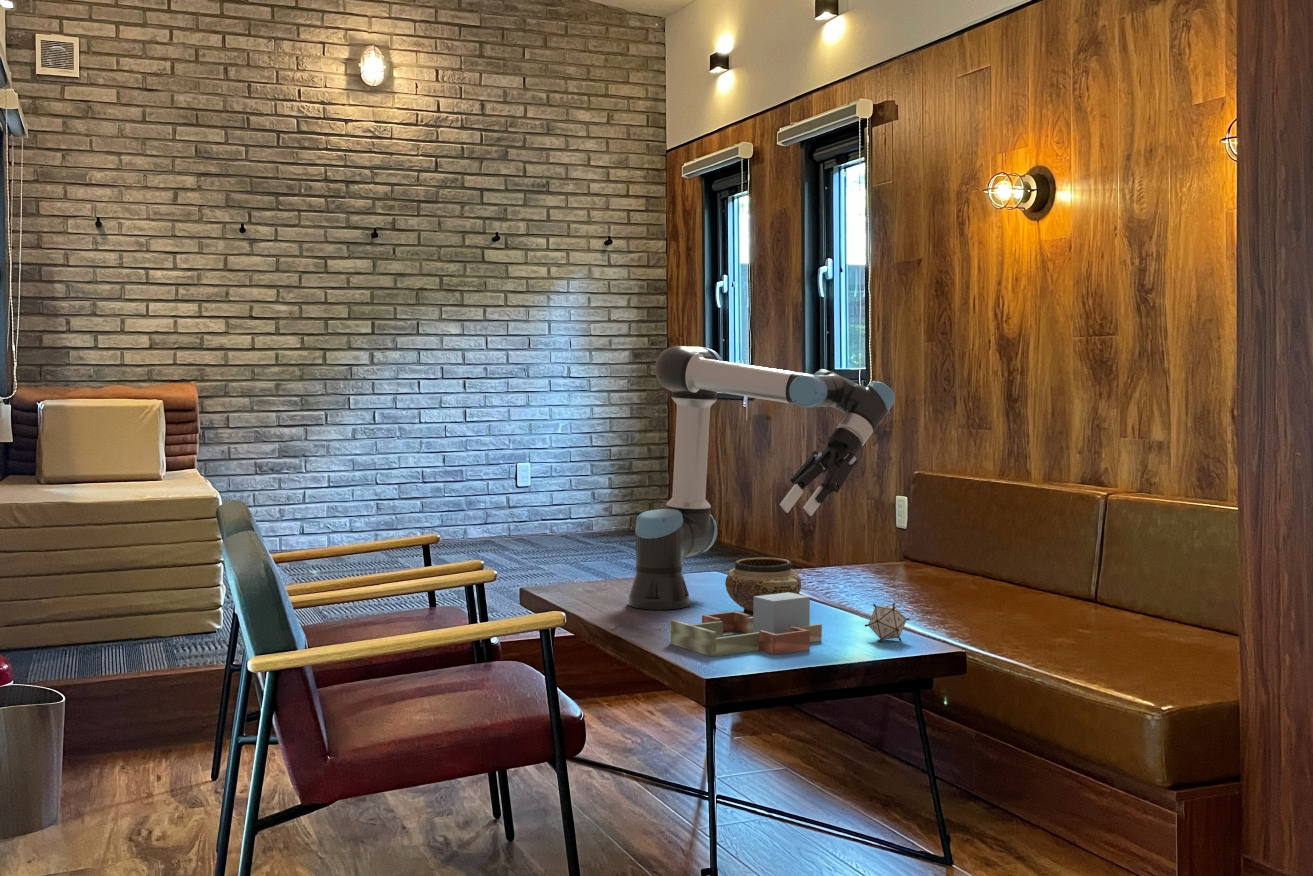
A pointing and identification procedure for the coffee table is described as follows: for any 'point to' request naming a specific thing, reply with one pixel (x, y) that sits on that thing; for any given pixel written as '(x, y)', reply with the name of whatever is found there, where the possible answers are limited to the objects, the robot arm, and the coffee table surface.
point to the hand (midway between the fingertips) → (795, 510)
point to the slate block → (780, 612)
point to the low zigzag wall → (740, 636)
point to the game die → (887, 622)
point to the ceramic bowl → (760, 580)
